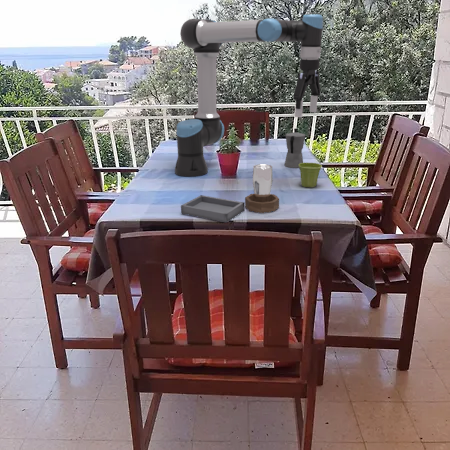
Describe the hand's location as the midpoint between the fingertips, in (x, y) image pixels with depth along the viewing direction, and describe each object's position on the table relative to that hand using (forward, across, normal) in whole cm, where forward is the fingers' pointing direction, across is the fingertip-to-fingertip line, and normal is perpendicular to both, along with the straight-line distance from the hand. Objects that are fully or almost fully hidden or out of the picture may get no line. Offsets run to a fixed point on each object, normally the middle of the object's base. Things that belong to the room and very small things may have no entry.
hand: (305, 114), depth 176 cm
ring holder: (+26, -40, -4) cm, 48 cm away
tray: (+26, -54, +8) cm, 60 cm away
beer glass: (+27, -40, -4) cm, 48 cm away
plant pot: (+28, -7, -7) cm, 29 cm away
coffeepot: (+29, +18, +13) cm, 37 cm away
